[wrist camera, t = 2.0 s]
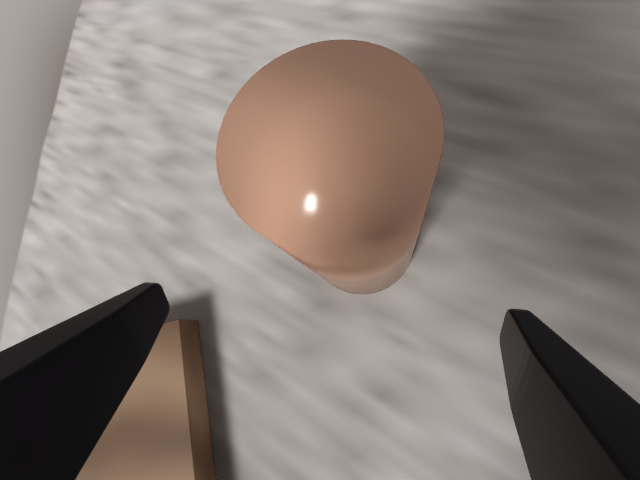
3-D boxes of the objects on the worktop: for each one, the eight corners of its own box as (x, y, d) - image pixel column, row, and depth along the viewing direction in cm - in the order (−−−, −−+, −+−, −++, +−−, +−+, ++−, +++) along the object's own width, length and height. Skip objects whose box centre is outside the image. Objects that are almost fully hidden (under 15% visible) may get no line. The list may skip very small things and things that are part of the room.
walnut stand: (224, 550, 18) (204, 577, 16) (30, 580, 19) (-10, 608, 17) (197, 320, 21) (178, 319, 19) (35, 362, 23) (2, 365, 21)
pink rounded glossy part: (427, 279, 19) (481, 209, 8) (324, 305, 20) (233, 276, 8) (396, 184, 21) (403, 9, 9) (303, 211, 21) (203, 81, 10)
